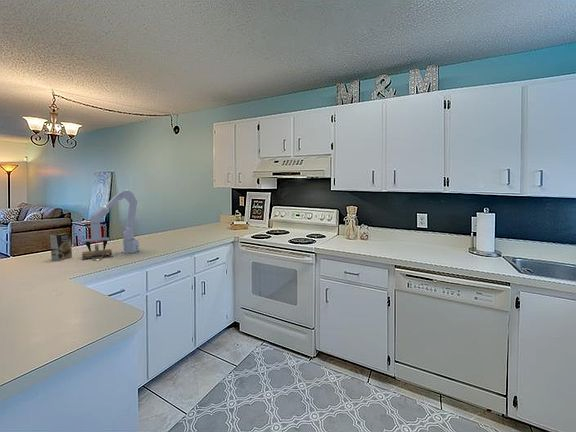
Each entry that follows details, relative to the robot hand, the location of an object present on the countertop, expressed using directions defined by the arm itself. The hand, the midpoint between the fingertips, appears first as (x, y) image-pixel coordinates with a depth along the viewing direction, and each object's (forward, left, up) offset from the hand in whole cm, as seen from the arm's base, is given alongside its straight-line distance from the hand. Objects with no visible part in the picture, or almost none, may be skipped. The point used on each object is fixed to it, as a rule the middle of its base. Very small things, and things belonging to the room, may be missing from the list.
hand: (97, 252), depth 203 cm
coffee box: (+15, +12, -2) cm, 19 cm away
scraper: (-3, +4, -2) cm, 6 cm away
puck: (-10, +12, -2) cm, 16 cm away
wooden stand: (-5, +6, -2) cm, 8 cm away
